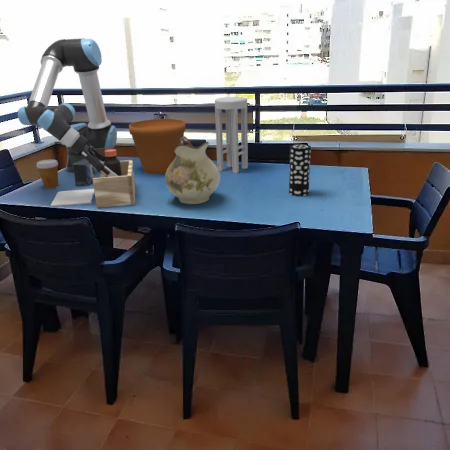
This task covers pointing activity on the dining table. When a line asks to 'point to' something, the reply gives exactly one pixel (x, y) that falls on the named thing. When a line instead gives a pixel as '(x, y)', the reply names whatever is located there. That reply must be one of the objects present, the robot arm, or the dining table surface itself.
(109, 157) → the vinegar
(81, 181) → the small box
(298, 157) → the white-spotted black cylinder
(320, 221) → the dining table surface
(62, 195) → the mat
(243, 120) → the stool
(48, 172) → the disposable coffee cup
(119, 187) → the crate
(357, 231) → the dining table surface
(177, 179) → the pitcher
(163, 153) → the flowerpot
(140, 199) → the dining table surface
